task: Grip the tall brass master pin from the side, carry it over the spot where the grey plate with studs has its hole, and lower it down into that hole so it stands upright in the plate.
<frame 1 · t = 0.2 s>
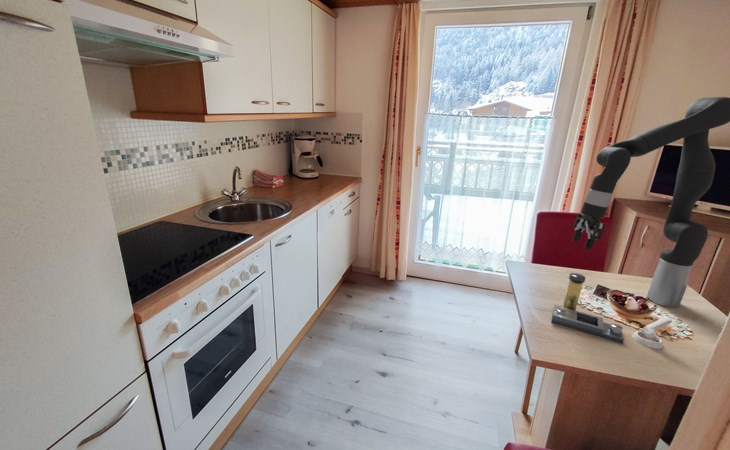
hand: (581, 244, 124), 22 cm above the table, tool pointing down, fingers open, 8 cm apart
master pin: (568, 310, 121), on the table
white vr controller: (647, 341, 106), on the table
grey plate with studs: (585, 326, 112), on the table
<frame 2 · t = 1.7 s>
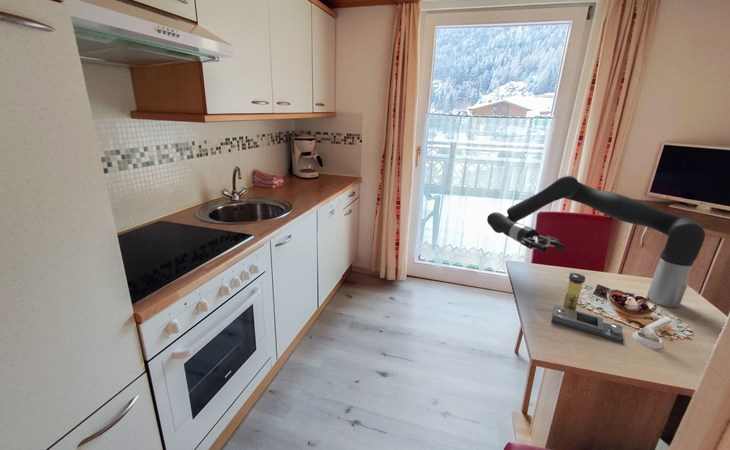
hand: (555, 248, 125), 20 cm above the table, tool horizontal, fingers open, 8 cm apart
nothing on the table moved.
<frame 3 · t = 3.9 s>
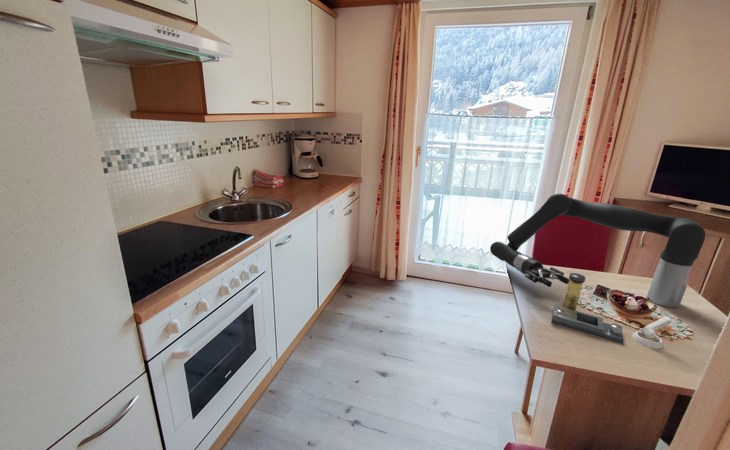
hand: (559, 283, 125), 8 cm above the table, tool horizontal, fingers open, 8 cm apart
nothing on the table moved.
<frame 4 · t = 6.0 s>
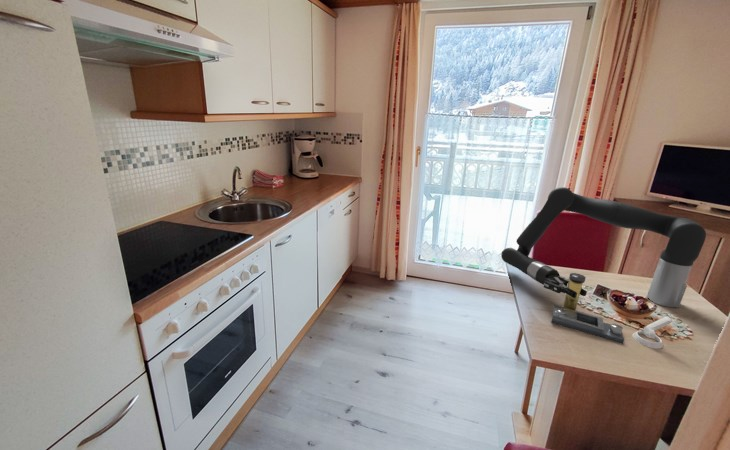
hand: (580, 294, 117), 8 cm above the table, tool horizontal, fingers closed on master pin, 4 cm apart
master pin: (568, 310, 121), on the table, touching gripper
everything else where it was.
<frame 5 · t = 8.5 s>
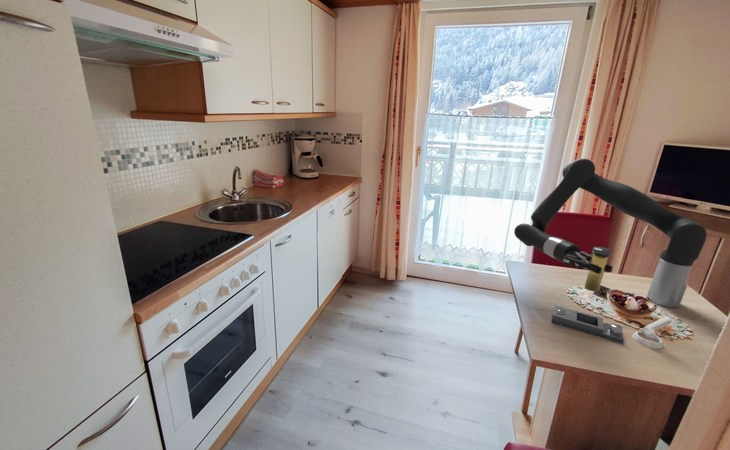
hand: (605, 270, 104), 22 cm above the table, tool horizontal, fingers closed on master pin, 4 cm apart
master pin: (591, 288, 109), point 14 cm above the table, touching gripper
everything else where it was.
when the fingers open (10 cm above the table, at t = 11.3 s): master pin drops 2 cm, resting in grey plate with studs.
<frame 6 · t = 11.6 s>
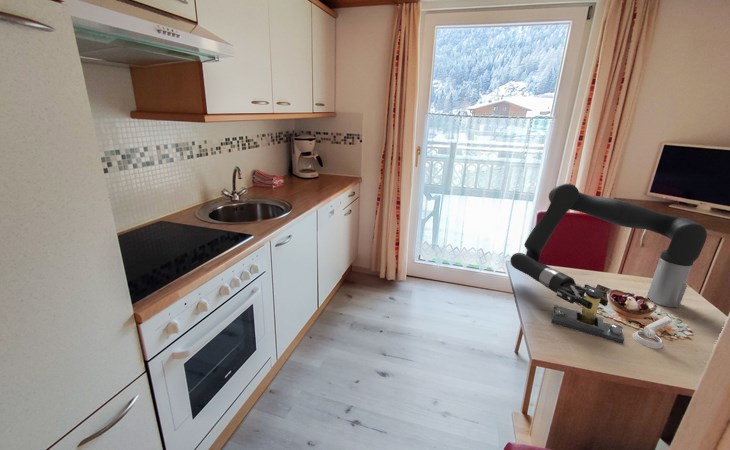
hand: (599, 304, 106), 10 cm above the table, tool horizontal, fingers open, 6 cm apart
master pin: (585, 326, 112), resting in grey plate with studs
everything else where it was.
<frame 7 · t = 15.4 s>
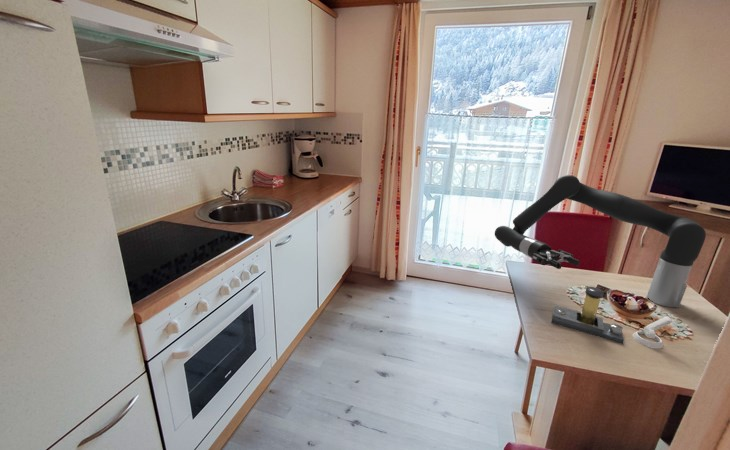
hand: (569, 265, 118), 17 cm above the table, tool horizontal, fingers open, 8 cm apart
nothing on the table moved.
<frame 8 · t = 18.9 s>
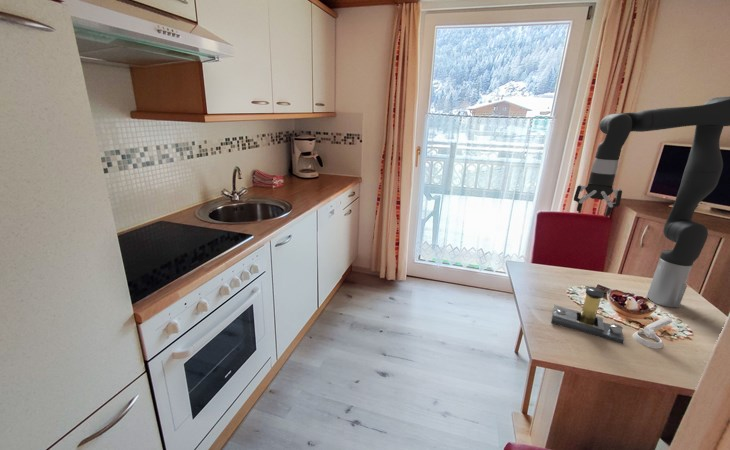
hand: (592, 214, 124), 33 cm above the table, tool pointing down, fingers open, 8 cm apart
nothing on the table moved.
at the end: master pin 0.1 cm off-centre on the grey plate with studs, point 0.0 cm above the grey plate with studs's base; master pin tilted 0°; the gripper is holding nothing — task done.
